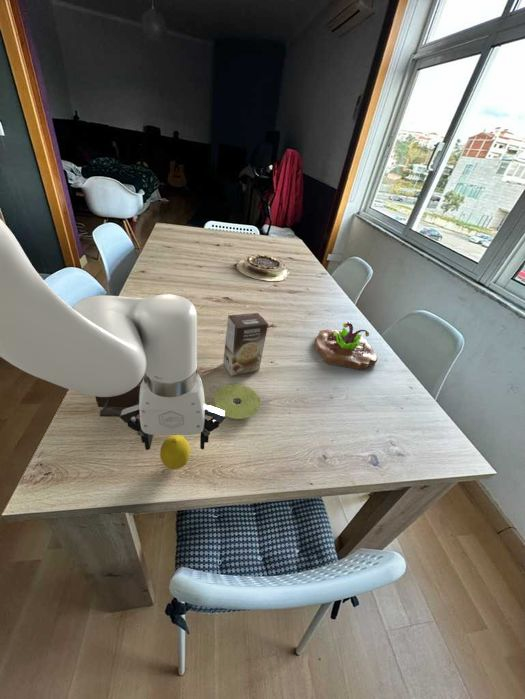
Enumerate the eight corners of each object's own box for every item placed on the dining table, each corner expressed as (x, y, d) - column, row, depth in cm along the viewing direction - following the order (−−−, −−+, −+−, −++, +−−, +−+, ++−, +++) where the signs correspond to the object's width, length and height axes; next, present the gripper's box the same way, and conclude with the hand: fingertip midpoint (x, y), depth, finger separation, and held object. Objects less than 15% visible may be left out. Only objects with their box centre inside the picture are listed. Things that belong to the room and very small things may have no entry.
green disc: (235, 383, 79) (236, 378, 78) (267, 406, 74) (269, 401, 73) (204, 404, 72) (204, 399, 70) (237, 432, 67) (238, 426, 66)
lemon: (164, 481, 55) (161, 456, 51) (159, 456, 59) (156, 431, 54) (193, 471, 58) (193, 447, 53) (186, 448, 61) (186, 424, 57)
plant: (308, 332, 106) (316, 305, 99) (359, 336, 109) (369, 309, 102) (322, 368, 90) (333, 338, 84) (381, 371, 93) (395, 343, 87)
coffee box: (230, 376, 81) (235, 328, 72) (222, 362, 85) (226, 315, 76) (260, 370, 85) (268, 323, 76) (251, 357, 89) (258, 311, 80)
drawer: (151, 428, 63) (148, 406, 59) (88, 427, 61) (81, 405, 57) (166, 367, 79) (165, 346, 75) (117, 365, 77) (113, 344, 73)
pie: (277, 286, 134) (279, 276, 131) (226, 269, 142) (226, 259, 139) (297, 269, 156) (299, 260, 153) (252, 255, 163) (253, 246, 160)
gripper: (102, 391, 40) (121, 462, 50) (229, 394, 43) (223, 460, 53) (118, 357, 46) (132, 426, 56) (228, 361, 49) (223, 426, 59)
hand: (176, 442), depth 55 cm, fingers open, 9 cm apart
